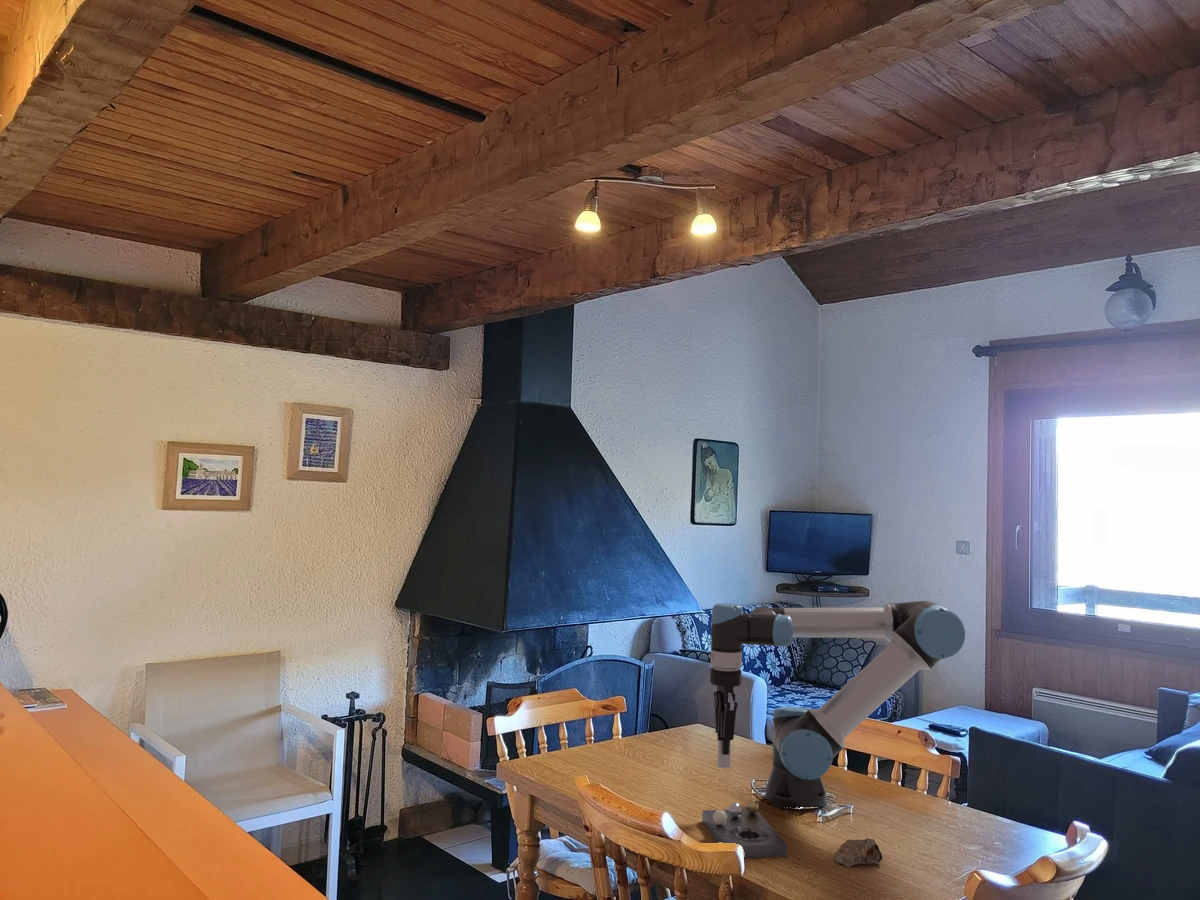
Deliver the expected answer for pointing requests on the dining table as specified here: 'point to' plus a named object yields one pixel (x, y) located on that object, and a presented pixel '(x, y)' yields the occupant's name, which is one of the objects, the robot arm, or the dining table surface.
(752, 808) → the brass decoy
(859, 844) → the rock
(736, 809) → the steel ball
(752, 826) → the plate
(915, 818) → the dining table surface
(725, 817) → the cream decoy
